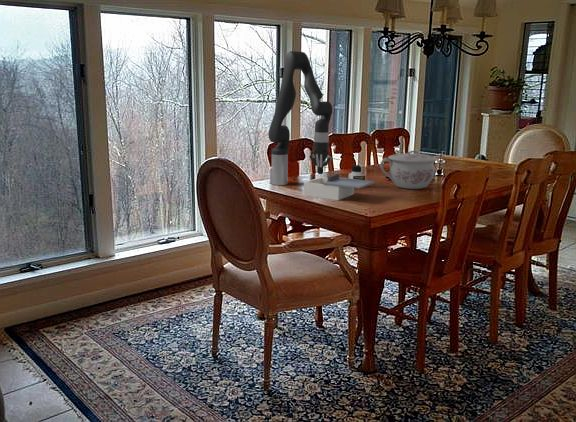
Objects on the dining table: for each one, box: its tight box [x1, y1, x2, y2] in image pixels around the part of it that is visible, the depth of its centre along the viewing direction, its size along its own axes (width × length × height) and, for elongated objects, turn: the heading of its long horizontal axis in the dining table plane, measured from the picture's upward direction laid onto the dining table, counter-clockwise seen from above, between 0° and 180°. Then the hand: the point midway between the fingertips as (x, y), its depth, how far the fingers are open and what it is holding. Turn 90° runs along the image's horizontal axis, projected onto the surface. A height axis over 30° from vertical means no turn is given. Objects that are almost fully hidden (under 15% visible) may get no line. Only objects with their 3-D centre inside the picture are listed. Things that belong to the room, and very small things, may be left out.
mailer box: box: [303, 177, 355, 201], centre depth 290 cm, size 20×18×7 cm
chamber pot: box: [379, 150, 439, 190], centre depth 311 cm, size 28×28×21 cm
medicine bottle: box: [348, 164, 366, 189], centre depth 312 cm, size 7×7×12 cm
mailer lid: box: [322, 173, 376, 189], centre depth 282 cm, size 21×19×3 cm
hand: (320, 173), depth 291 cm, fingers closed
